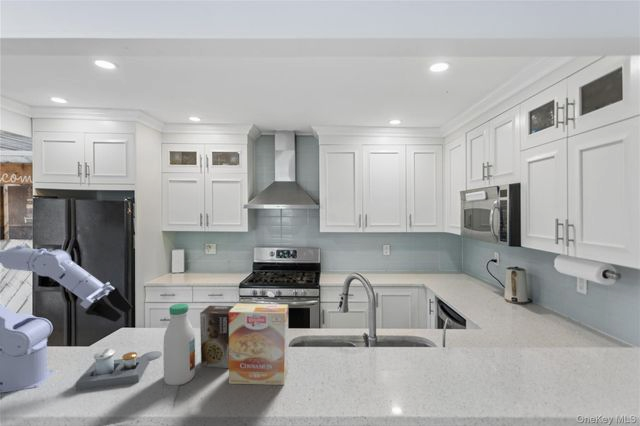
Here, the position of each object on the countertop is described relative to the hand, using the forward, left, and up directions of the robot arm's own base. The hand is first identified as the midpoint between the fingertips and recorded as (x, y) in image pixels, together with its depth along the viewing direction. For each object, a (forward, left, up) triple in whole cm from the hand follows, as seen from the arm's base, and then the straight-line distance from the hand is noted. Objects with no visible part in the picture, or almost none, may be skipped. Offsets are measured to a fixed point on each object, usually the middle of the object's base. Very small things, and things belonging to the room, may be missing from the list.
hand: (124, 314), depth 84 cm
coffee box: (+25, -1, -17) cm, 30 cm away
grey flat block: (-2, -2, -17) cm, 17 cm away
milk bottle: (+15, -7, -17) cm, 24 cm away
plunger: (+2, -2, -15) cm, 15 cm away
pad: (+5, +7, -17) cm, 19 cm away
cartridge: (-4, -2, -16) cm, 17 cm away
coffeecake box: (+36, -12, -17) cm, 41 cm away
